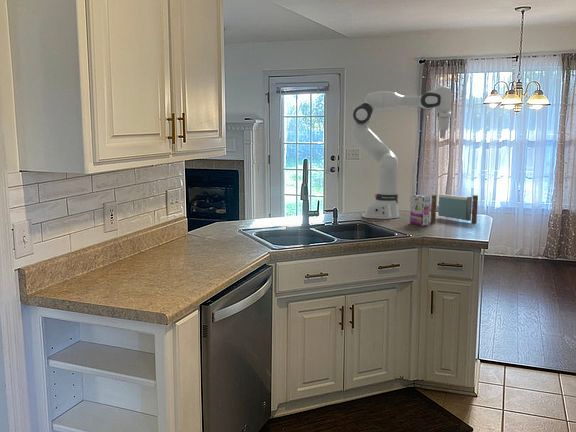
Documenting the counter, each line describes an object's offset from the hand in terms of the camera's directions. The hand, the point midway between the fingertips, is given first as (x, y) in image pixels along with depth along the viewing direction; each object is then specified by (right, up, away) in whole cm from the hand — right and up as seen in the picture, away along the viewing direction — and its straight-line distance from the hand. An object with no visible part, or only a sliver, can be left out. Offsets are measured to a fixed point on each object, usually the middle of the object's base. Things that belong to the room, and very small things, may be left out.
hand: (442, 138), depth 329 cm
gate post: (+16, -50, -9) cm, 53 cm away
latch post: (-8, -50, -8) cm, 51 cm away
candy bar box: (-17, -51, -13) cm, 55 cm away
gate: (+7, -47, -1) cm, 48 cm away
